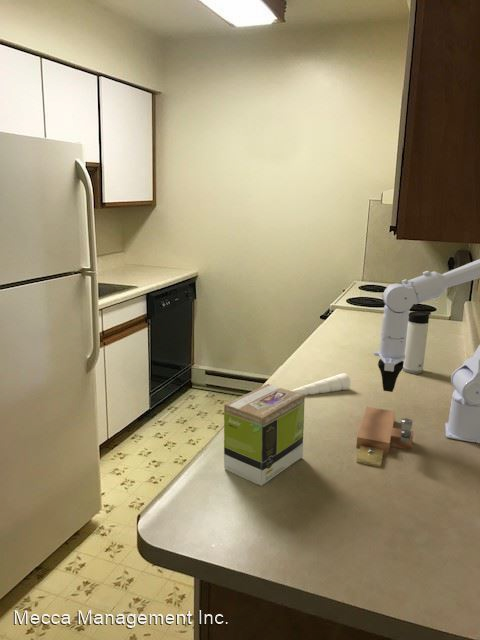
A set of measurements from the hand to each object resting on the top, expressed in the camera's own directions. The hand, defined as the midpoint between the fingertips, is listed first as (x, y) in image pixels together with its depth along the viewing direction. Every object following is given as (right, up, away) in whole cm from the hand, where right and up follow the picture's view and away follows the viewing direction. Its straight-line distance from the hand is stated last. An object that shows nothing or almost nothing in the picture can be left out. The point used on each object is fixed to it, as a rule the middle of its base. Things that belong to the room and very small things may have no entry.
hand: (388, 390), depth 120 cm
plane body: (-1, -10, -1) cm, 11 cm away
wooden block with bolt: (-7, -13, -12) cm, 19 cm away
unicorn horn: (-14, -4, +23) cm, 28 cm away
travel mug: (+21, 0, +44) cm, 49 cm away
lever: (+1, -8, -10) cm, 13 cm away
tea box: (-31, -13, -15) cm, 37 cm away
